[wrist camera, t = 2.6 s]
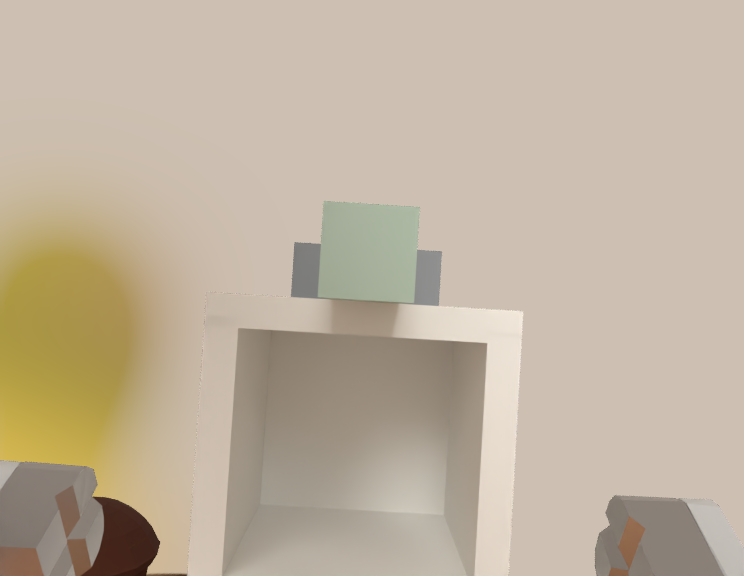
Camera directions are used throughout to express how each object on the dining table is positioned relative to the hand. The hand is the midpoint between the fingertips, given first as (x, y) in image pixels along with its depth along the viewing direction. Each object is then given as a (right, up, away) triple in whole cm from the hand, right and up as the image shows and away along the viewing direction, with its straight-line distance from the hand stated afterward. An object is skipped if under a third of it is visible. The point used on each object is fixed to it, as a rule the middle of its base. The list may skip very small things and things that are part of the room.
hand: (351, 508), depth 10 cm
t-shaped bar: (0, +3, +19) cm, 19 cm away
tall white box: (-2, -23, +24) cm, 33 cm away
